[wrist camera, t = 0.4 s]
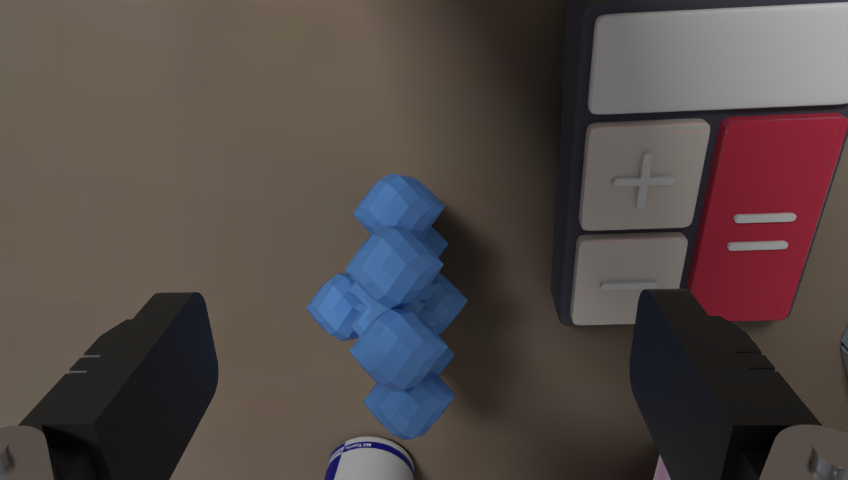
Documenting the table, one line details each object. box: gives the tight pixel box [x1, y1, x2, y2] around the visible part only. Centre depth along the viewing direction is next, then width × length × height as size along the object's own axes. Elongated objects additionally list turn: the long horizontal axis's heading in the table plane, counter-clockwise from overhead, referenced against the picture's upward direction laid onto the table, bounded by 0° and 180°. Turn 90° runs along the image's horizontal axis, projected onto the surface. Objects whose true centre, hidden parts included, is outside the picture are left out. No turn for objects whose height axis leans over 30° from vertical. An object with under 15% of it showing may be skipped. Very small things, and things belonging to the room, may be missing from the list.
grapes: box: [306, 174, 468, 440], centre depth 25 cm, size 12×7×12 cm, turn 4°
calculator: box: [551, 0, 848, 326], centre depth 27 cm, size 11×4×15 cm
